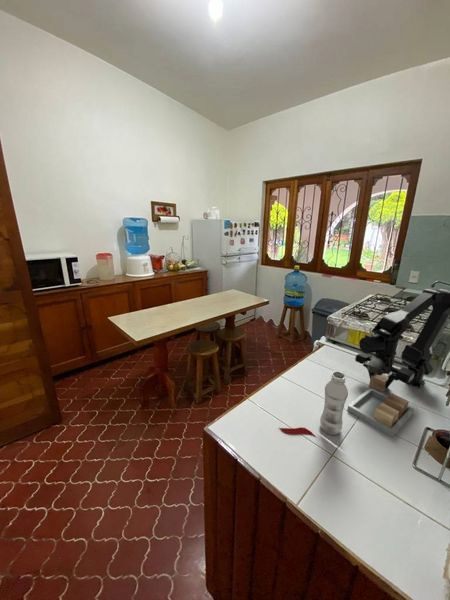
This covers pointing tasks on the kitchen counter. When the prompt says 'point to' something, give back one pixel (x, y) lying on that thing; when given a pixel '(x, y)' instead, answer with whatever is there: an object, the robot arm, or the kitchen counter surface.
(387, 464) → the kitchen counter surface
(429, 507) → the kitchen counter surface
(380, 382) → the block
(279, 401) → the kitchen counter surface
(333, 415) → the plastic bottle
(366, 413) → the tray
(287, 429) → the cayenne pepper
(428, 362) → the robot arm
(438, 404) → the kitchen counter surface
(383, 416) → the block
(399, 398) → the block
